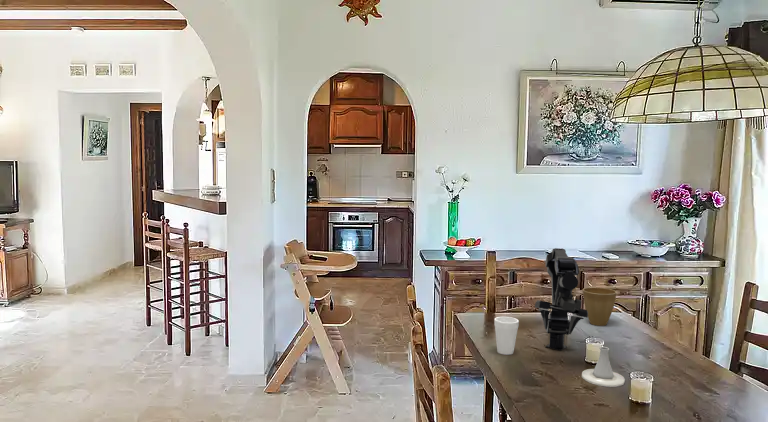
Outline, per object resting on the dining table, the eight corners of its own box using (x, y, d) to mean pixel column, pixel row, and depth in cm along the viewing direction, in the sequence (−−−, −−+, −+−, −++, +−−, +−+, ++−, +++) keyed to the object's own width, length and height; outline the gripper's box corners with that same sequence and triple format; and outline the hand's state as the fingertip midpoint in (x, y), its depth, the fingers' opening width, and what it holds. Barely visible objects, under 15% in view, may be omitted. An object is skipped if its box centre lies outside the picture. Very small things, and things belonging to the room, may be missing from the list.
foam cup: (503, 357, 219) (504, 324, 218) (488, 349, 227) (489, 318, 226) (522, 353, 224) (523, 321, 222) (507, 346, 232) (508, 315, 231)
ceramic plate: (591, 368, 209) (591, 365, 209) (630, 379, 200) (630, 376, 200) (575, 378, 199) (575, 375, 199) (615, 390, 189) (615, 387, 189)
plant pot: (615, 321, 272) (617, 289, 270) (614, 330, 258) (616, 295, 257) (582, 317, 278) (584, 285, 276) (579, 325, 264) (581, 291, 263)
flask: (615, 380, 195) (617, 352, 194) (593, 378, 197) (595, 350, 196) (612, 373, 202) (613, 345, 201) (590, 371, 204) (592, 343, 203)
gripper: (547, 285, 207) (540, 328, 205) (597, 296, 208) (590, 338, 205) (537, 285, 218) (531, 326, 216) (584, 295, 219) (578, 336, 217)
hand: (557, 331), depth 213 cm, fingers open, 9 cm apart
